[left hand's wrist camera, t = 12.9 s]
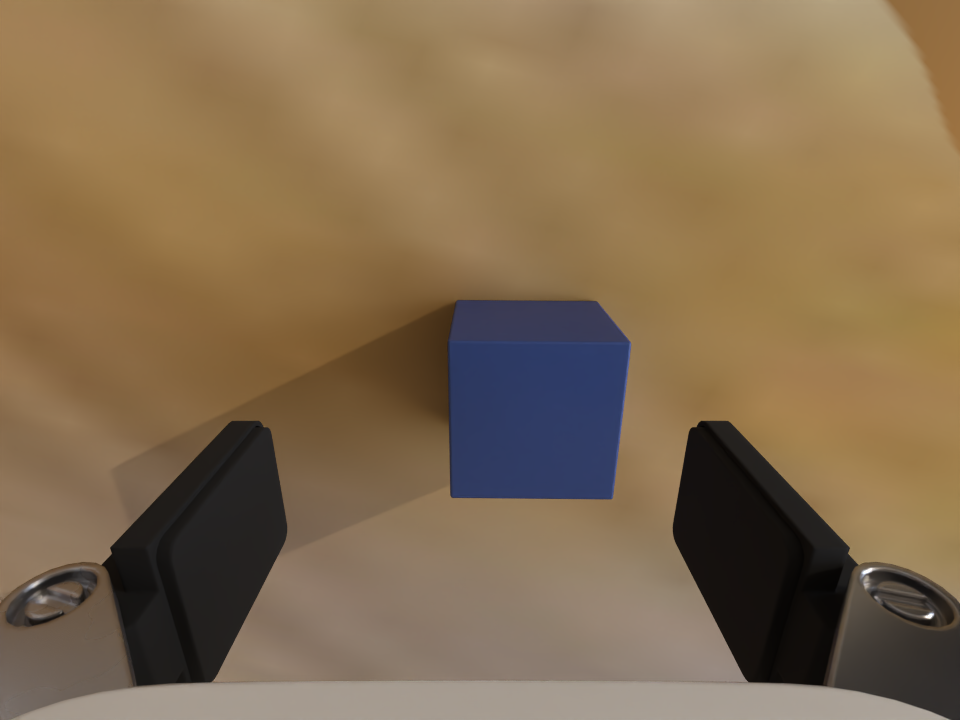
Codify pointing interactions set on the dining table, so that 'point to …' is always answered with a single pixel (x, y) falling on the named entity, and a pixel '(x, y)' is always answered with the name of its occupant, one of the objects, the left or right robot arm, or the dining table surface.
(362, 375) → the dining table surface
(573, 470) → the block
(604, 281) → the dining table surface
